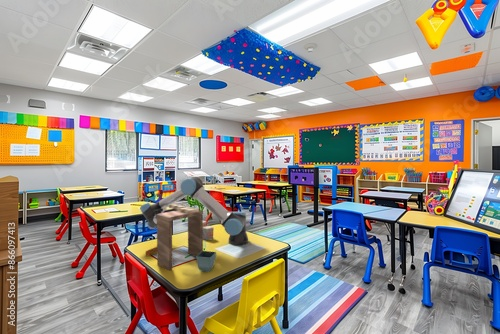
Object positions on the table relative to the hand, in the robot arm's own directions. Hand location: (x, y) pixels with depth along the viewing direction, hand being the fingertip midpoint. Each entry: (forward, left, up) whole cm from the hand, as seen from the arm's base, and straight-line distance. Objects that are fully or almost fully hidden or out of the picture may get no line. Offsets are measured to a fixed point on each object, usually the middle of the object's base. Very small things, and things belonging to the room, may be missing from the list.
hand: (174, 205), depth 159 cm
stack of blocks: (-15, -34, -32) cm, 49 cm away
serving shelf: (-6, +13, -32) cm, 35 cm away
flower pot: (-23, +27, -32) cm, 48 cm away
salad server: (-6, +5, -2) cm, 8 cm away
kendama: (+13, -6, -32) cm, 35 cm away
